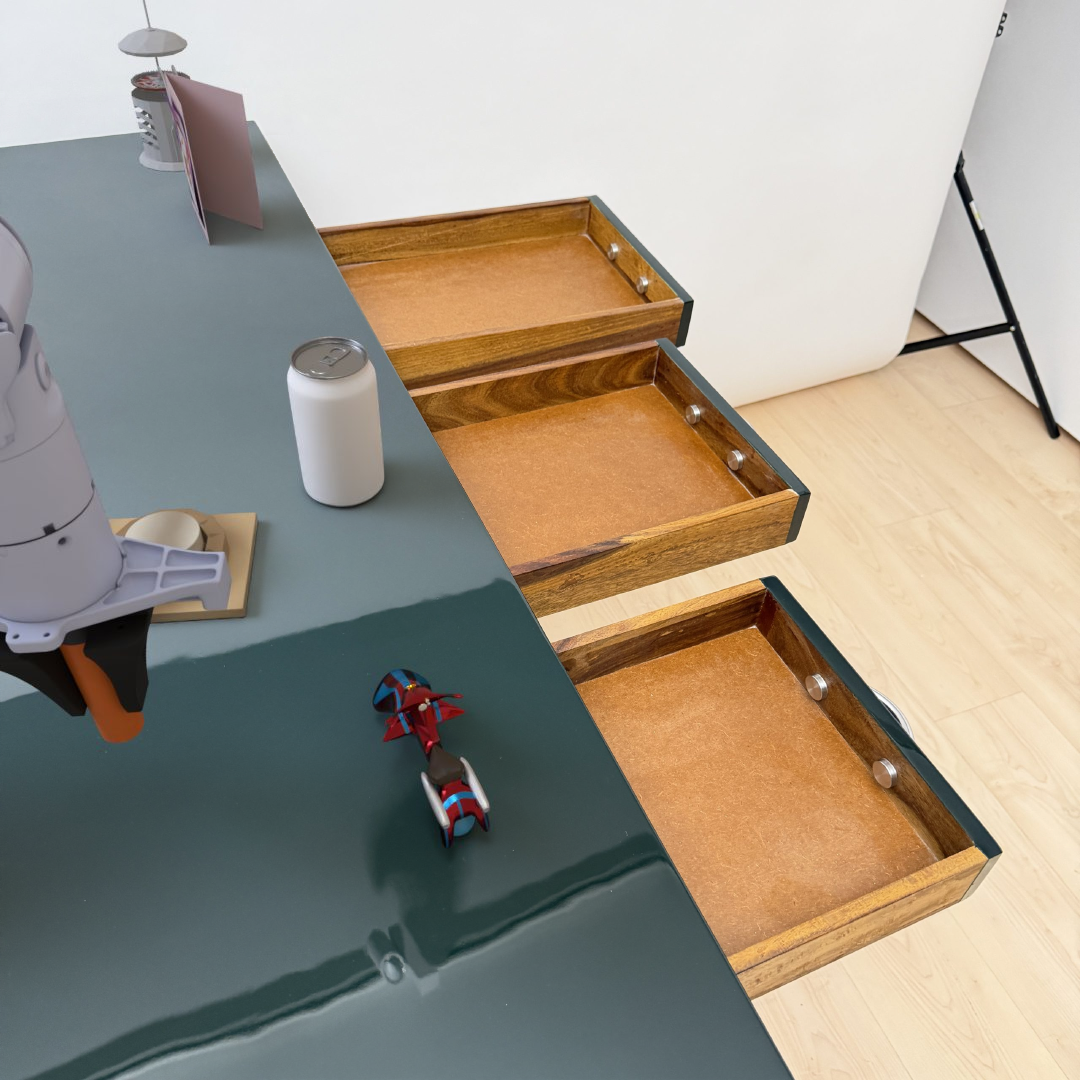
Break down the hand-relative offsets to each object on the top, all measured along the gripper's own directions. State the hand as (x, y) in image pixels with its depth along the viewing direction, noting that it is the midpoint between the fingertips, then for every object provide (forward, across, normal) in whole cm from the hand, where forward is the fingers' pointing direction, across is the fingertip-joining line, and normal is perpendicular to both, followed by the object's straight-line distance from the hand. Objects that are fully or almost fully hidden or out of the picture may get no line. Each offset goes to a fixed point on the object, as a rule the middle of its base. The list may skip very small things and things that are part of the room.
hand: (110, 698), depth 46 cm
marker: (+2, 0, 0) cm, 2 cm away
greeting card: (+9, -5, +77) cm, 77 cm away
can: (+9, +10, +27) cm, 30 cm away
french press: (+9, -13, +96) cm, 97 cm away
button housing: (+9, -2, +18) cm, 20 cm away
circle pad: (+7, -2, +18) cm, 19 cm away
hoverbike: (+9, +16, 0) cm, 18 cm away
